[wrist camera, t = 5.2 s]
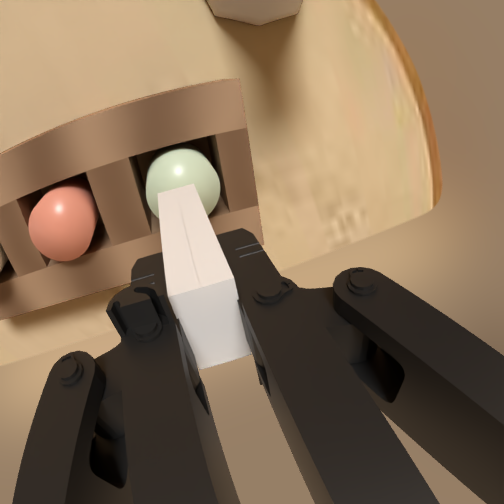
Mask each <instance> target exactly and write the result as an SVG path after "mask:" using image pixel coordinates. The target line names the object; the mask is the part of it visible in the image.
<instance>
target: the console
mask: <svg viewBox="0 0 504 504" xmlns="http://www.w3.org/2000/svg"><path fill="white" fill-rule="evenodd" d="M181 142H184V143H189V144H191V145H193V146H195V147H197V148H198V149H199V150H201V151H202V153H203V154H204V155H205V157H206V158H207V160H208V161H209V162H210V164H211V165H212V167H213V168H214V170H215V171H216V173H217V175H218V178H219V181H220V196H219V199H218V202H217V204H216V206H215V207H214V209H213V210H212V212H211V213H210V214H209V215H208V219H209V221H210V223H211V226H212V228H213V230H214V233H215V235H218V234H222V233H225V232H229V231H233V230H236V229H240V228H243V229H245V230H247V231H249V232H251V233H253V234H254V236H255V237H256V239H257V240H258V242H259V243H260V245H264V240H263V233H262V226H261V219H260V212H259V205H258V198H257V191H256V185H255V178H254V171H253V164H252V157H251V151H250V144H249V137H248V131H247V124H246V118H245V111H244V105H243V98H242V92H241V85H240V79H222V80H217V81H211V82H206V83H201V84H196V85H191V86H187V87H182V88H178V89H174V90H169V91H165V92H161V93H157V94H154V95H150V96H146V97H143V98H139V99H136V100H132V101H129V102H125V103H122V104H119V105H116V106H113V107H110V108H107V109H104V110H101V111H98V112H95V113H92V114H89V115H87V116H84V117H81V118H78V119H76V120H73V121H71V122H68V123H66V124H63V125H61V126H58V127H56V128H53V129H51V130H49V131H46V132H44V133H42V134H39V135H37V136H35V137H33V138H31V139H28V140H26V141H24V142H22V143H20V144H18V145H16V146H14V147H12V148H10V149H8V150H6V151H4V152H2V153H0V243H1V245H2V247H3V249H4V251H5V253H6V255H7V257H8V260H7V262H6V264H5V265H4V267H3V269H2V270H1V272H0V320H3V319H7V318H10V317H14V316H17V315H21V314H24V313H27V312H31V311H34V310H38V309H41V308H45V307H48V306H51V305H55V304H58V303H62V302H65V301H69V300H72V299H76V298H79V297H82V296H86V295H89V294H93V293H96V292H100V291H103V290H107V289H110V288H114V287H117V286H121V285H124V284H128V283H131V269H132V268H133V266H134V264H135V262H136V261H137V259H139V258H143V257H146V256H149V255H153V254H156V253H160V252H162V242H161V232H160V220H159V218H158V217H157V216H156V215H155V214H154V213H153V212H152V211H151V209H150V207H149V205H148V202H147V198H146V181H147V168H148V164H149V162H150V160H151V158H152V156H153V155H154V154H155V153H156V152H157V151H158V150H159V149H160V148H162V147H166V146H169V145H173V144H177V143H181ZM72 176H74V177H80V178H82V179H85V180H86V181H88V182H89V183H90V186H91V189H92V192H93V195H94V198H95V200H96V203H97V206H98V209H99V212H100V215H99V218H98V221H97V224H96V227H95V230H94V233H93V236H92V239H91V242H90V245H89V247H88V248H87V250H86V251H85V252H84V253H83V254H82V255H81V256H80V257H78V258H76V259H74V260H70V261H56V260H53V259H50V258H48V257H46V256H45V255H43V254H42V253H41V252H40V251H39V250H38V249H37V248H36V247H35V245H34V244H33V242H32V240H31V237H30V234H29V227H28V224H29V218H30V215H31V212H32V210H33V209H34V207H35V206H36V205H37V204H38V202H39V201H40V200H41V199H42V197H43V196H44V195H45V194H46V193H47V191H48V190H49V189H50V188H51V187H52V185H53V184H54V183H56V182H59V181H61V180H64V179H67V178H69V177H72Z"/></svg>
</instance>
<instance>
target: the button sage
mask: <svg viewBox="0 0 504 504" xmlns="http://www.w3.org/2000/svg"><path fill="white" fill-rule="evenodd" d="M190 184H194V185H195V188H196V190H197V193H198V195H199V197H200V200H201V202H202V204H203V207H204V209H205V212H206V214H207V216H208V215H209V214H210V213H211V212H212V210H213V209H214V207H215V206H216V204H217V202H218V199H219V196H220V181H219V178H218V175H217V173H216V171H215V170H214V168H213V167H212V165H211V164H210V162H209V161H208V160H207V158H206V157H205V155H204V154H203V153H202V151H201V150H199V149H198V148H197V147H195V146H193V145H191V144H189V143H184V142H181V143H177V144H173V145H169V146H166V147H162V148H160V149H159V150H158V151H157V152H156V153H155V154H154V155H153V156H152V158H151V160H150V162H149V164H148V168H147V181H146V198H147V202H148V205H149V207H150V209H151V211H152V212H153V213H154V214H155V215H156V216H157V217H158V218H159V208H158V193H161V192H165V191H168V190H172V189H175V188H179V187H183V186H186V185H190Z"/></svg>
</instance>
